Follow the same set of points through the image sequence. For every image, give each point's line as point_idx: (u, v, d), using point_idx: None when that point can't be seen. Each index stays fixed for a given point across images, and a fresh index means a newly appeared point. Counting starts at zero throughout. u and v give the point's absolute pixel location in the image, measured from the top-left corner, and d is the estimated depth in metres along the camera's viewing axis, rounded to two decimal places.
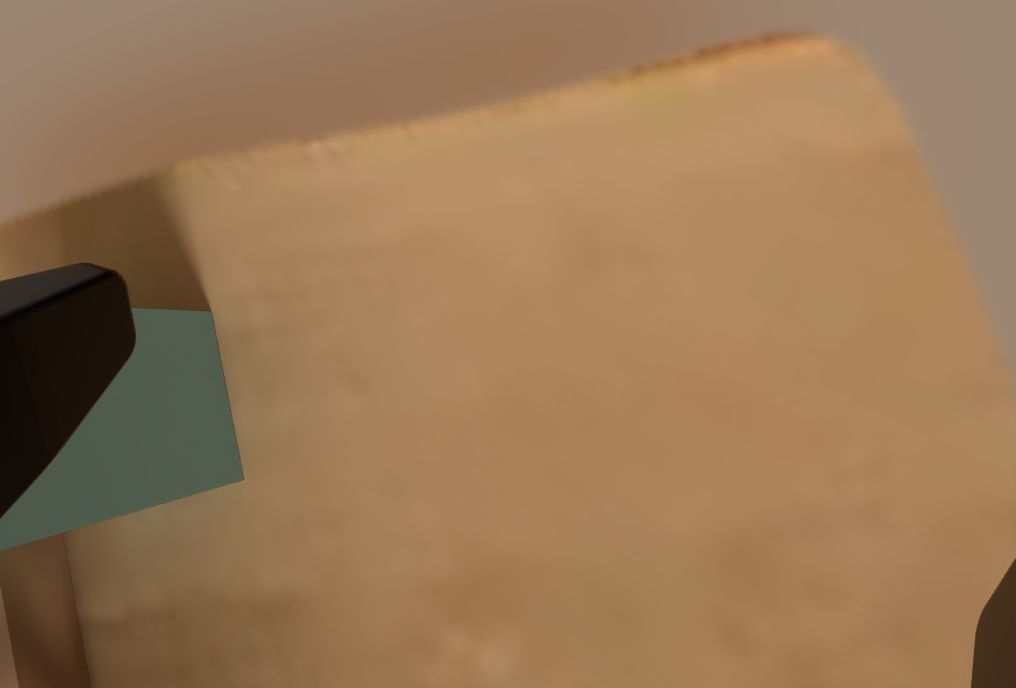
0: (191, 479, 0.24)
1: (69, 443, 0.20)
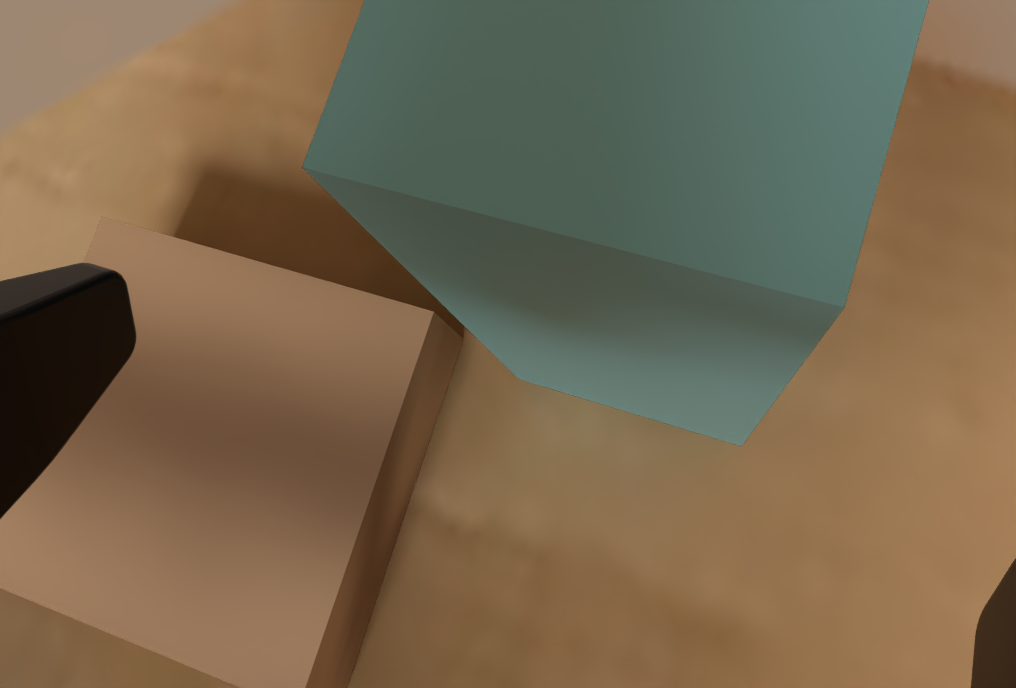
0: None
1: None
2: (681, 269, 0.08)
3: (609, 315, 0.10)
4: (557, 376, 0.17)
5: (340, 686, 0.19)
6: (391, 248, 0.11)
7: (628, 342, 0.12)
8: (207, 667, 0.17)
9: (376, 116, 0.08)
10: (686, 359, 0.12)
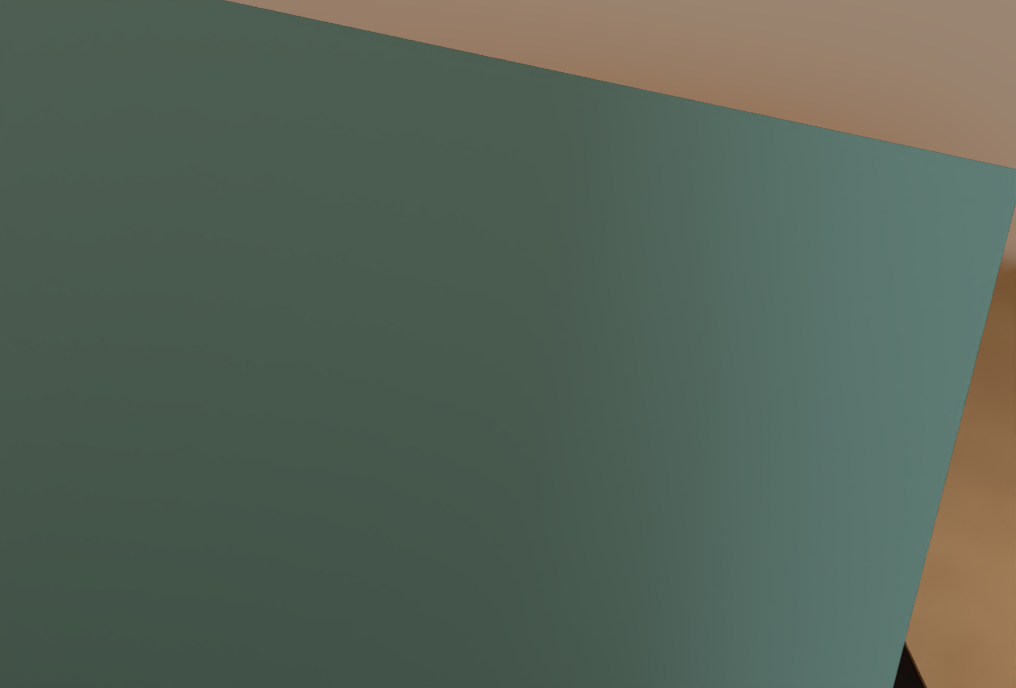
0: None
1: None
2: None
3: None
4: None
5: None
6: None
7: None
8: None
9: None
10: None
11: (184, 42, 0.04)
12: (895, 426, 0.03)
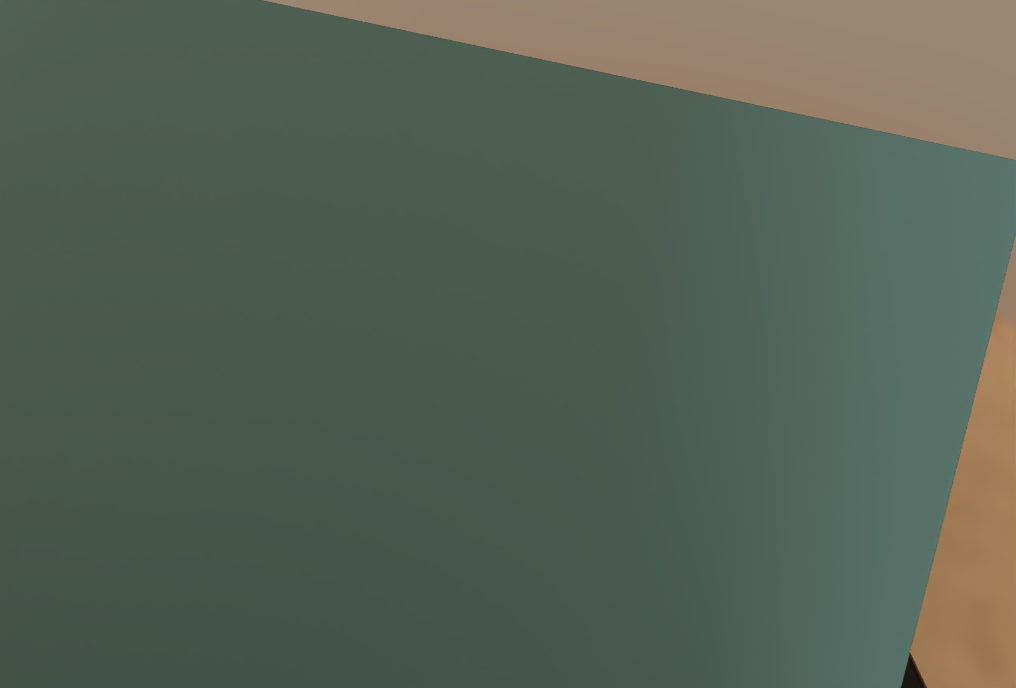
0: None
1: None
2: None
3: None
4: None
5: None
6: None
7: None
8: None
9: None
10: None
11: (193, 35, 0.04)
12: (906, 418, 0.03)
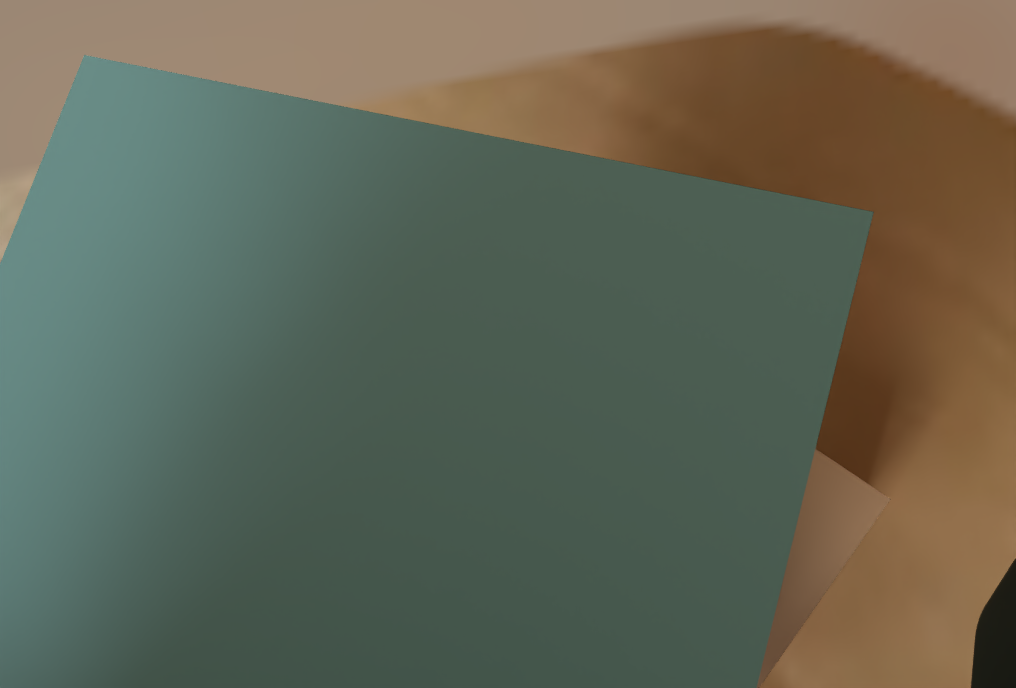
0: None
1: None
2: None
3: None
4: None
5: None
6: None
7: None
8: None
9: None
10: None
11: (303, 133, 0.05)
12: (792, 381, 0.05)
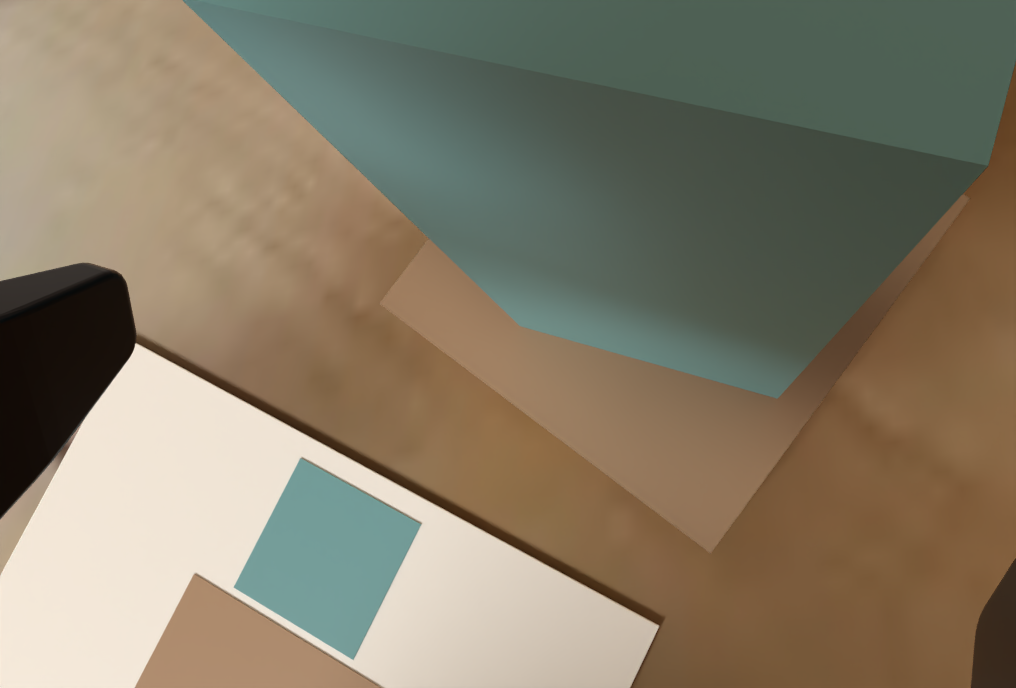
0: None
1: None
2: (732, 121, 0.05)
3: (623, 221, 0.08)
4: (563, 319, 0.15)
5: None
6: (336, 140, 0.08)
7: (648, 263, 0.09)
8: (624, 480, 0.17)
9: None
10: (723, 283, 0.09)
11: None
12: None
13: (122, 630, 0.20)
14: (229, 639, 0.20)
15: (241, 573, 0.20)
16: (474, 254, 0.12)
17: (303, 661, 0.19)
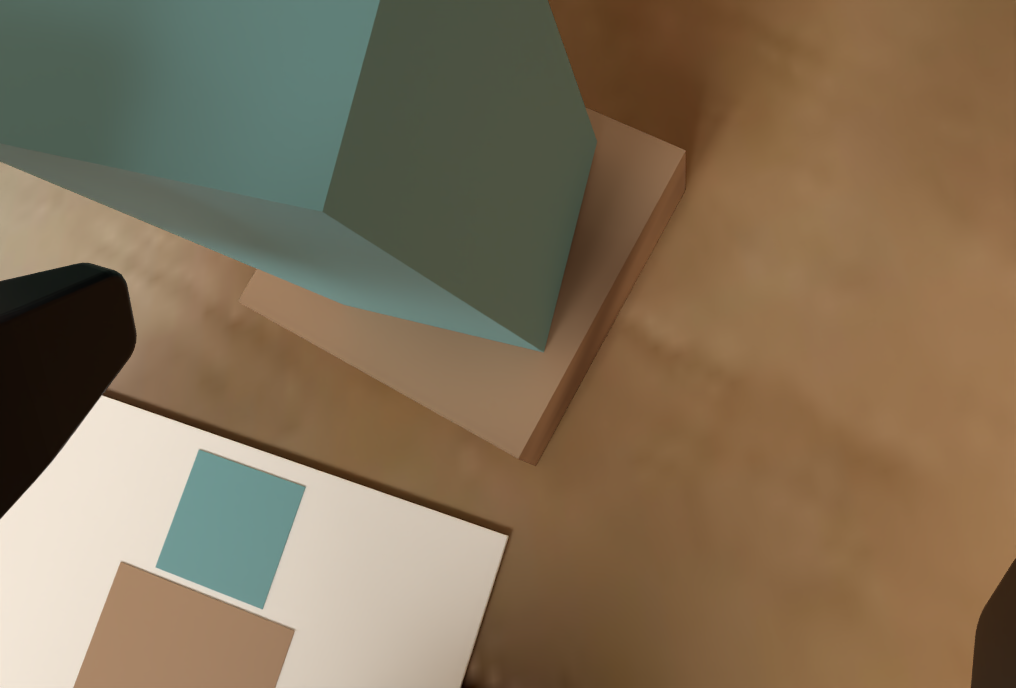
0: (526, 319, 0.18)
1: (498, 191, 0.14)
2: (207, 188, 0.09)
3: (259, 235, 0.12)
4: (352, 298, 0.19)
5: (535, 460, 0.22)
6: (71, 189, 0.12)
7: (315, 259, 0.13)
8: (445, 411, 0.20)
9: None
10: (362, 270, 0.13)
11: None
12: None
13: (65, 620, 0.24)
14: (157, 611, 0.23)
15: (161, 555, 0.23)
16: (237, 255, 0.15)
17: (221, 618, 0.23)
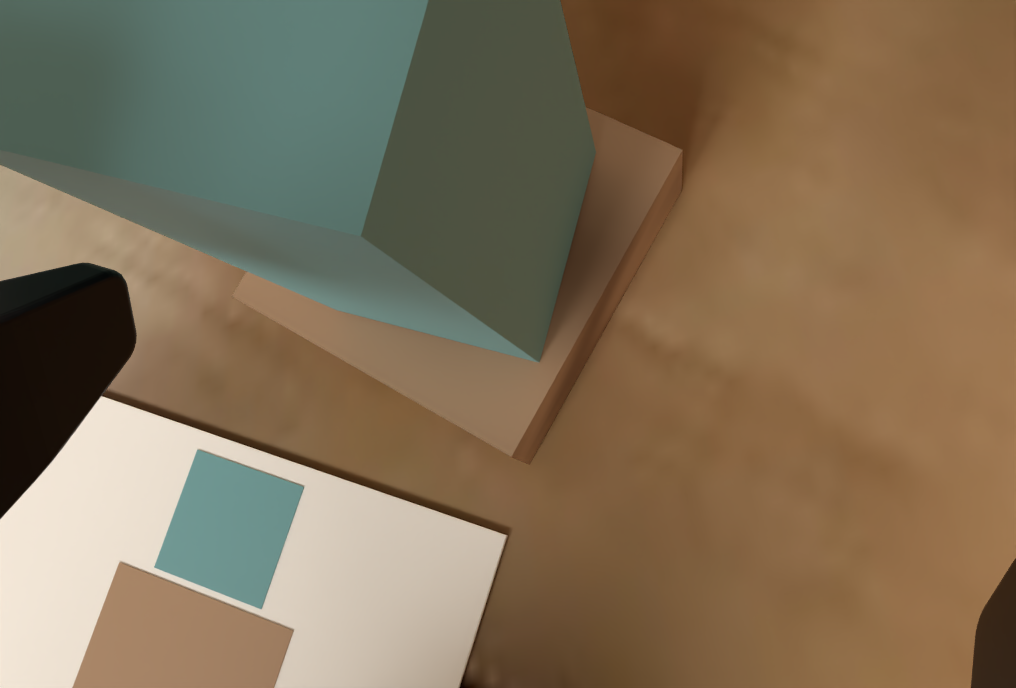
0: (527, 331, 0.18)
1: (511, 206, 0.14)
2: (238, 208, 0.09)
3: (275, 249, 0.12)
4: (349, 306, 0.19)
5: (529, 459, 0.22)
6: (79, 197, 0.12)
7: (326, 272, 0.13)
8: (438, 408, 0.20)
9: None
10: (376, 285, 0.13)
11: None
12: None
13: (64, 621, 0.24)
14: (156, 612, 0.23)
15: (159, 555, 0.23)
16: (239, 262, 0.15)
17: (219, 618, 0.23)
